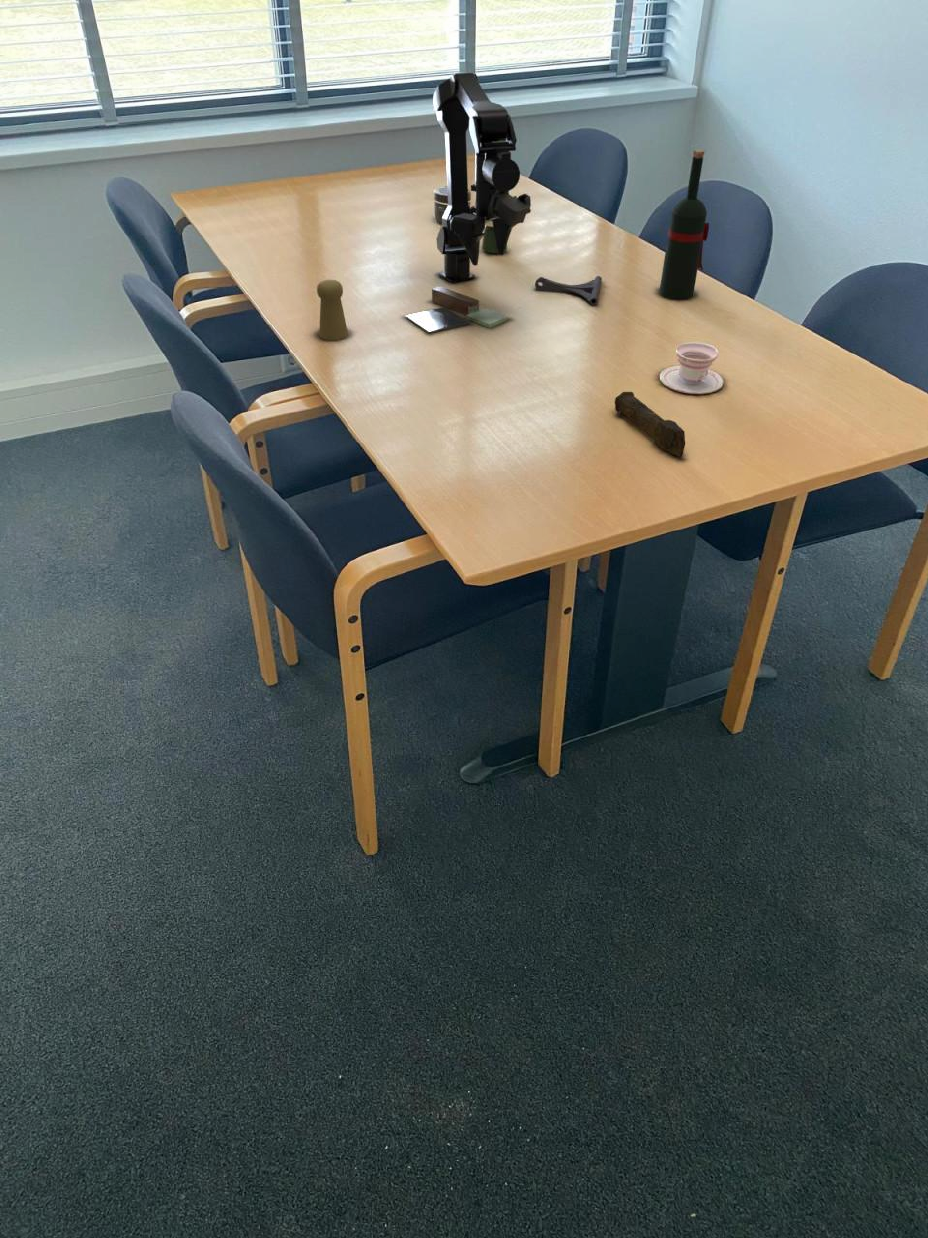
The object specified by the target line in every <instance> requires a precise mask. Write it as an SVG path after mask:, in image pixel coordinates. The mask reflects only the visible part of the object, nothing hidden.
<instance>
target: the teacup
mask: <svg viewBox="0 0 928 1238" xmlns="http://www.w3.org/2000/svg"><path fill="white" fill-rule="evenodd" d="M675 353H676V356H677V357H678V358H677V359H678V360H677V361H678V362H679V365H673V366H670V367H667V368H664V369H663V370H661V372H660V374H659V381H660V382H661V383H662V384H663V385H664V386H665V387H667V388H669V389H670V390H673V391H676V392H679V393H684V394H688V395H689V394H691V395H704V394H711V393H714V392H717V391H718V390H720V389H721V388H723V385H724V379H723V377H722V376H721V375H720V374H719V373H718V372H715V371H714V370H712V369H709V368H710V367H712V365H713V362H714V361H716V360H717V358H718V357H719V350H718V349H717V348H716V346H714V345H712V344H709V343H706V342H701V341H689V342H684V343H682V344H679V345H678V346H677V347H676V349H675Z"/></svg>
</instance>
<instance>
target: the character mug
mask: <svg viewBox="0 0 928 1238" xmlns="http://www.w3.org/2000/svg"><path fill="white" fill-rule="evenodd" d="M474 214H475V215H476V213H474ZM485 218H486V217H485ZM483 233H485V235H484V236H483V237H482V242H481V243H482V244H481V248H482V249H483V250H484V251H485V252H486V253H493V254H494V253H495V254H498V250H497V246H496V240H495V234H494V228H493V223H492V221H490V222H487V223H485V229H484V231H483ZM507 250H508V244H507V245H506V248H505V251H504V252H506V251H507Z"/></svg>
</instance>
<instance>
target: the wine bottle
mask: <svg viewBox="0 0 928 1238" xmlns="http://www.w3.org/2000/svg"><path fill="white" fill-rule="evenodd" d="M692 154H693V156H692V160H691V165H690V166H691V167H690V174H689V179H688V186H687V193H686V197H685V198H682V199H681V200H679V201H678V202H676V204H674V206H673V208H672V211H671V214H670V222H669V228H668V233H667V240H666V247H665V253H664V260H663V265H662V272H661V278H660V279H661V280H660V285H659V291H658V294H659V295H660V296H661V297H663V298H666V299H668V300H674V301H686V300H689V299H692V298H693V297H694V293H695V288H696V287H695V286H696V281H697V275H698V270H699V269H701V271H702V272H704V269H703V263H702V261H703V259H702V258H703V249H704V242H706V241H707V239H708V236H709V230H710V223H709V222H707V221H706V220H707V214H708V211H707V207H706V205H705V204H704V202H702V201H701V200H700V199H698V192H699V187H700V180H701V176H702V175H701V174H702V168H703V163H704V155H705V150H702V149H694V150H693V153H692Z"/></svg>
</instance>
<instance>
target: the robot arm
mask: <svg viewBox="0 0 928 1238" xmlns="http://www.w3.org/2000/svg"><path fill="white" fill-rule="evenodd" d="M432 98H433V100H432V101H433V102H432V103H433V109H434V111H435V113H436V121H437V122H438V123H439V125H440V128H441V129H442V131H443V132H444V142H445V143H444V144H445V163H446V165H445V167H446V186H447V190H448V206H447V208H446V210H445V212H444V214H443V217H442V224H441V226H440V229H439V231H438V233H437V236H436V238H435V239H436V248H437V250H438V252H439V253H440V254H441V255H443V266H444V267H443V271H439V272H438V275H439V276H440V277H442V278H443V279H445V280H446V281H448V282H450V283H457V282H462V281H463V282H464V281H468V280H472V279H475V278H476V275H475V274H473V273H471V264H472V266H476V267H477V266H478V265H479V258H480V245H481V240H483V236H484V235H485V233H484V229H485V227H486V225H485V223H487V222H490V221H492V223H493V228H494V234H495V240H496V246H497V250H498V252H497V254H498V255H501V256H503V255H504V253H505V252H506V251H505V248H506V245H507V246H508V241H509V239H510V236H511V233H512V230H513V228H514V227H516V226H517V225H519V224H523V223H525V219H526V217H527V215H528V214H530V213H532V212H531V211H532V210H531V205H532V204H531V203H532V202H531V200H532V199H531V196H530V195H529V194H527V193H523V194H520V195H519V196H517V195H514V196H513V195H511V194H510V191H512V190H513V189H514V188H516V187H517V185H518V183H519V181H520V178H521V171H520V167H519V164H518V163H517V162H516V161H515V160H513V159H512V153H511V152H515V151H516V150H517V146H516V145H517V141H518V140H517V139H518V138H517V135H516V131H515V127H514V123H513V121H512V117H511V115H510V114H509V112H508V110H507V109H506V108H505V107H504V106H503V105H502V104H499V103H495V102H493V101H491V99H490V97H488V95H487V94H486V92H485V90H484V89H483V88H482V85H480V83H479V80H478V75H477V73H476V72H473V71H460V72H454V73H452V74H451V75H450V76H449V78H448V79H447V80H445V81H443V82H442V83H440V84H438V85H437V87H436V89H435V90H434V93H433V97H432ZM468 130H469V135H470V138H471V142H472V145H473V148H474V151H475V158H474V159H475V162H474V163H475V164H474V166H475V168H474V184H470V192H474V205H471V206H470V207H469V204H468V189H469V181H468V180H469V179H468V178H469V177H468V153H467V131H468ZM475 213H476V215H475ZM485 217H486V218H485Z"/></svg>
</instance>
